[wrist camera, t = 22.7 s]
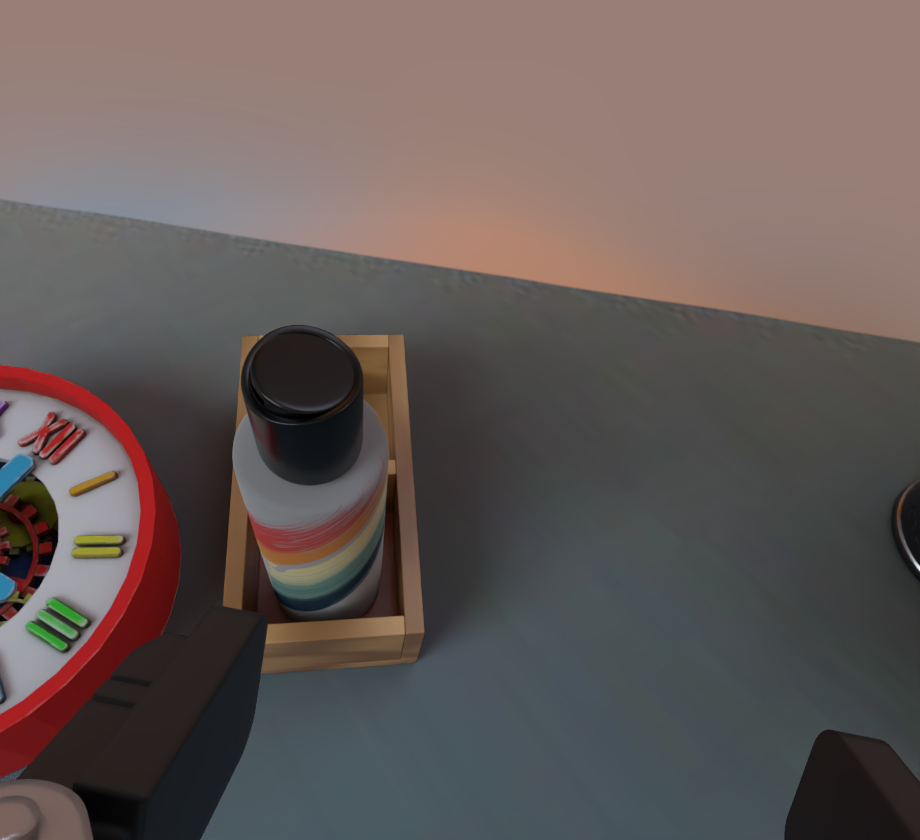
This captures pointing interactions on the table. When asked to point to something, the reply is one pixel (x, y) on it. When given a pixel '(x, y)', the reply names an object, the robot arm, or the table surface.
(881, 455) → the table surface
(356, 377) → the lotion bottle
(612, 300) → the table surface
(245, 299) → the table surface
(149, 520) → the toy clock
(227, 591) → the wooden organizer box
